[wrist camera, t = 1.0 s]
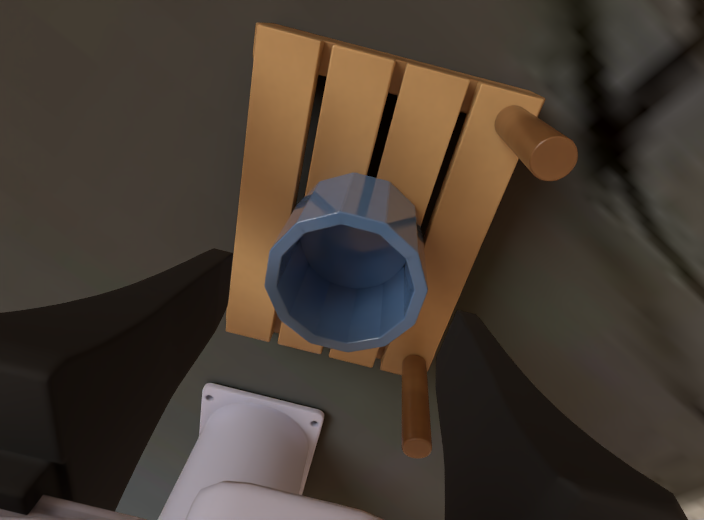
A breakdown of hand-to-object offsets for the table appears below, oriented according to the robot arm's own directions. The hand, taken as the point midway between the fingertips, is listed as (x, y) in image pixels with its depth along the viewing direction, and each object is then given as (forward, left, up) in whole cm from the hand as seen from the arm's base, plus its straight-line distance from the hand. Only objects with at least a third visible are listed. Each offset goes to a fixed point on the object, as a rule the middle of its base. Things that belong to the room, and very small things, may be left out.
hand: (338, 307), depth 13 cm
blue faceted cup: (0, 0, -6) cm, 6 cm away
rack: (0, 0, -8) cm, 9 cm away
